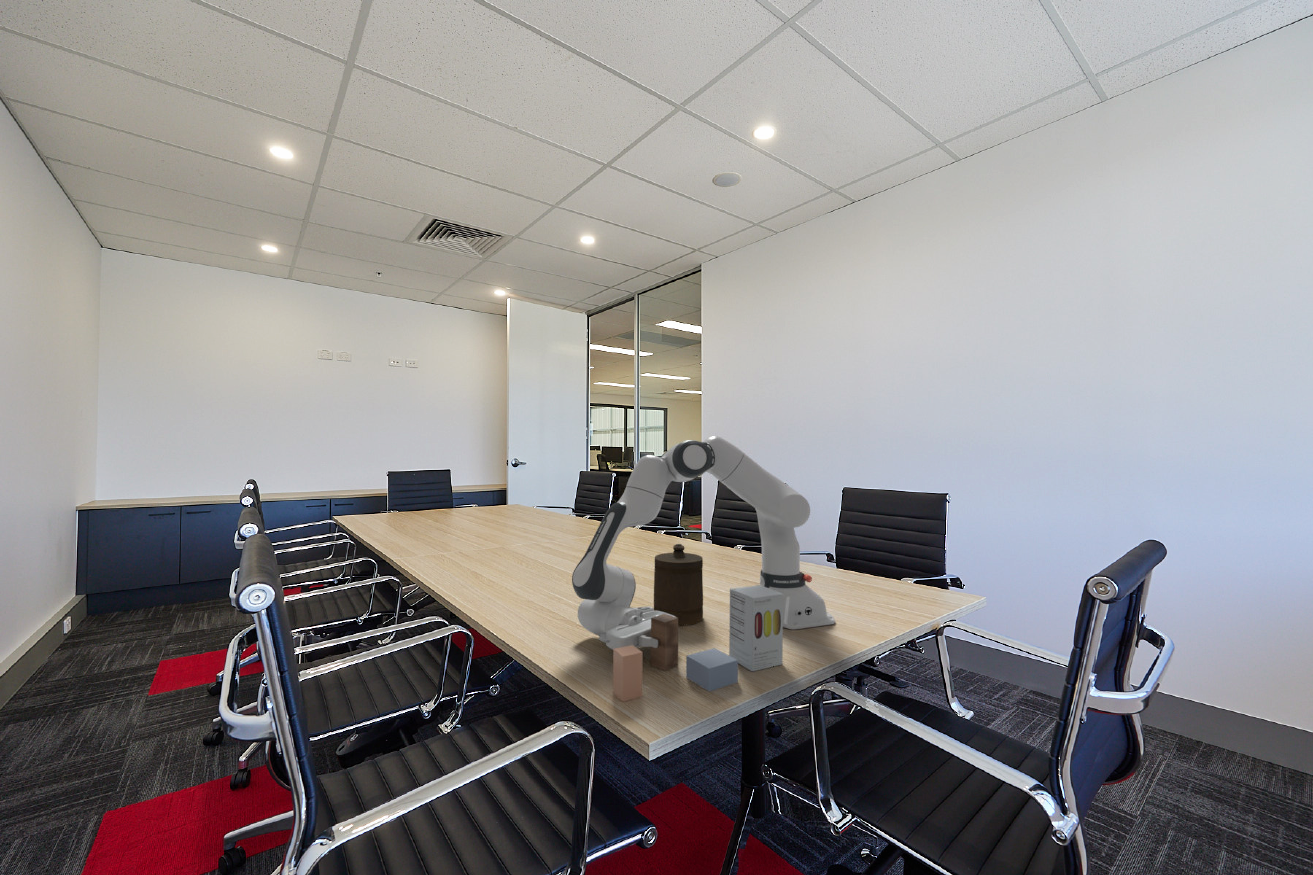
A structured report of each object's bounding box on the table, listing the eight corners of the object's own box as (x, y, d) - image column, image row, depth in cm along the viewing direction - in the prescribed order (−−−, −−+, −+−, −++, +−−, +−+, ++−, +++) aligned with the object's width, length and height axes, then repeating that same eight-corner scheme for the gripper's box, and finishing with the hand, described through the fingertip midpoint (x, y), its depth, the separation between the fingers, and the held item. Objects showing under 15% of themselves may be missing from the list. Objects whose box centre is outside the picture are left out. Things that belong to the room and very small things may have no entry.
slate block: (714, 669, 119) (714, 647, 119) (737, 683, 112) (737, 660, 112) (686, 678, 114) (686, 655, 115) (709, 692, 108) (709, 668, 108)
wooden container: (696, 608, 163) (696, 539, 164) (708, 624, 149) (708, 548, 149) (650, 611, 161) (650, 540, 162) (658, 627, 146) (658, 549, 147)
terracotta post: (632, 687, 109) (632, 644, 110) (642, 696, 105) (642, 652, 106) (613, 692, 107) (613, 648, 107) (622, 701, 103) (622, 656, 104)
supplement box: (751, 672, 117) (751, 597, 117) (727, 657, 125) (727, 588, 126) (784, 664, 121) (784, 592, 122) (759, 650, 130) (759, 583, 130)
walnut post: (663, 659, 124) (663, 613, 124) (677, 664, 121) (678, 617, 121) (650, 665, 121) (651, 617, 121) (665, 670, 118) (665, 622, 118)
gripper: (594, 623, 122) (635, 638, 113) (653, 604, 137) (694, 616, 128) (594, 650, 122) (635, 667, 113) (653, 628, 137) (694, 641, 128)
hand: (667, 640), depth 120 cm, fingers closed on walnut post, 4 cm apart
